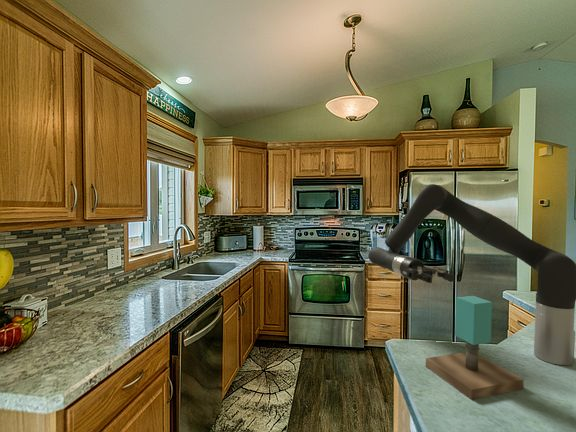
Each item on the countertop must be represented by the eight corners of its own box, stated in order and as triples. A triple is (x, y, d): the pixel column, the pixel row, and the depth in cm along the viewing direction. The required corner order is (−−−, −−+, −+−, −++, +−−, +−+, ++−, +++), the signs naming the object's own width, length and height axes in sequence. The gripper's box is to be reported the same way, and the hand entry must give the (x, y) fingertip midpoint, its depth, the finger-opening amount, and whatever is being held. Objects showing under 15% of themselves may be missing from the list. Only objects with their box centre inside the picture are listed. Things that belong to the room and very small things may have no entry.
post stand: (471, 359, 95) (472, 321, 95) (523, 388, 80) (525, 343, 80) (425, 366, 91) (426, 326, 90) (471, 399, 75) (472, 351, 75)
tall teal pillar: (472, 333, 89) (473, 295, 88) (490, 342, 83) (492, 302, 82) (455, 335, 87) (456, 297, 87) (473, 344, 81) (474, 304, 81)
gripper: (391, 257, 108) (424, 268, 93) (424, 256, 113) (461, 266, 97) (390, 278, 109) (422, 292, 93) (423, 276, 113) (459, 289, 98)
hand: (442, 279), depth 95 cm, fingers open, 8 cm apart
